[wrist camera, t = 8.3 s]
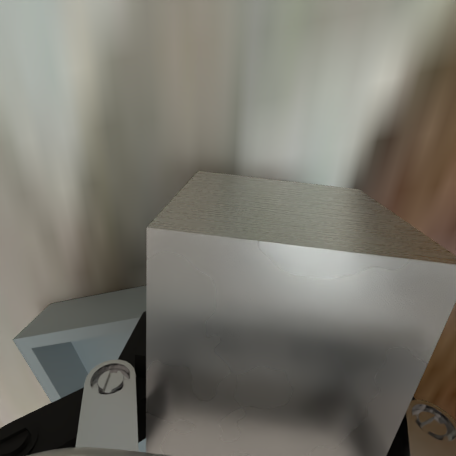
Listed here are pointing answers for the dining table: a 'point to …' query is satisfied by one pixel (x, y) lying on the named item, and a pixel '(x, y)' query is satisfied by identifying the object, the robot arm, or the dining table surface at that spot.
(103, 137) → the dining table surface
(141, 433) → the robot arm
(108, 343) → the tray
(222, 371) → the silver metal block
